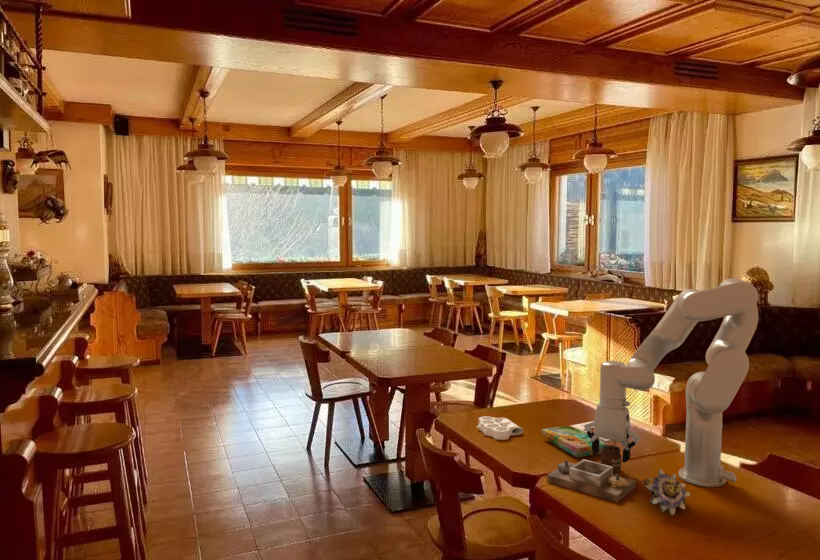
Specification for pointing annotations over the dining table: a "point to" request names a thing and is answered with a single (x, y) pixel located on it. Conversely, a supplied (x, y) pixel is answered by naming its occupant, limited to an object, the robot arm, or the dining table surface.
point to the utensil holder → (611, 457)
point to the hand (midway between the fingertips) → (610, 457)
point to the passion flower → (667, 492)
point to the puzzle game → (571, 440)
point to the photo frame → (581, 428)
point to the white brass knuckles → (498, 427)
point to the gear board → (592, 479)
